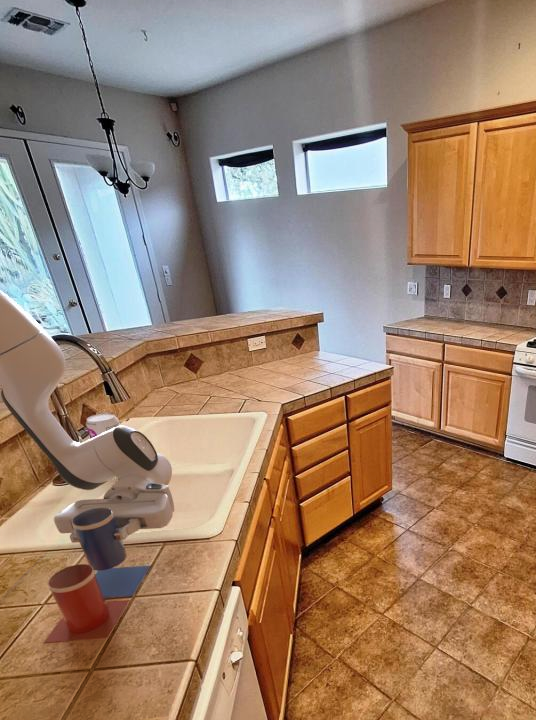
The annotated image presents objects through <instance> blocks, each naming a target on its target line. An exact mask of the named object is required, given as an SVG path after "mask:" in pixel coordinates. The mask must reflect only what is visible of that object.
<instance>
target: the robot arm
mask: <svg viewBox="0 0 536 720" xmlns="http://www.w3.org/2000/svg"><path fill="white" fill-rule="evenodd" d="M66 362H67V361H66V355H65V353H64V352H63V350H62V349H61V347H60V346H59V345H58V343H57V342H56V341H55V340H54V338H52V337H51V335H49V333H47V331H46V330H45V329H44V328H43V327H42V326H41V325H40V324H39V322H37V321H36V320H35V319H34V318H33V317H32V316H31V315H30V314H29V313H28V312H27V311H25V310H24V309H23V308H22V306H20V305H19V304H17V302H15V301H14V300H13V299H12V298H10V297H9V296H8V295H7V294H6V293H4V291H2V290H0V385H1V386H0V387H1V390H0V397H1V399H2V401H3V404H4V405H5V407H7V409H8V411H9V412H10V413H11V414H12V416H13V417H14V418H15V420H16V421H17V422H18V424H20V425H21V427H22V428H23V429H24V430H25V432H26V433H27V434H28V435H29V436H30V437H31V439H32V440H33V441H34V442H35V444H37V446H38V447H39V448H40V449H41V450H42V452H43V453H44V454H45V455H46V456H47V457H48V459H49V461H50V462H51V463H52V464H53V466H54V468H55V470H56V472H57V474H58V475H59V477H60V478H61V479H62V480H63V481H64V482H65V483H66V484H67V485H70V486H71V487H74V488H76V489H78V490H79V489H80V490H83V491H93V490H96V489H97V488H99V487H100V486H102V485H105V484H106V483H107V482H109V481H111V480H113V479H115V478H116V481H115V482H114V483H113V484H112V485H111V486H110V487H109V488H108V489H107V490H106V491H105V493H104V495H103V498H94V499H93V498H92V499H91V498H90V499H82V500H81V499H80V500H76V501H73V502H72V503H71V504H69V505H68V506H66V507H65V508H63V509H62V510H61V511H59V512H58V513H57V514H56V515H55V516H53V522H54V525H55V527H56V529H57V531H58V533H60V534H69V539H70V542H71V543H73V544H74V543H80V542H79V539H78V537H77V534H76V532H75V529H74V527H73V525H72V520H73V518H74V517H75V516H77V515H78V514H80V513H82V512H84V511H87V510H90V509H95V508H109V509H111V510H112V512H113V514H114V518H115V521H116V524H117V527H118V528H117V530H116V531H115V532H114V536H115V540H122V541H126V539H127V538H128V536H130V535H132V534H135V533H136V532H139V530H153V529H154V530H155V529H162V528H164V527H166V526H168V525H169V524H170V522H171V521H172V518H173V515H174V514H173V513H174V512H175V504H174V499H173V495H172V491H171V489H170V487H169V484H170V482H171V479H172V476H173V467H172V464H171V462H170V461H169V459H168V458H166V456H164V455H163V454H161V453H157V451H156V448H155V447H154V445H153V444H152V442H151V440H150V439H149V438H148V437H147V436H146V435H145V434H144V433H142V432H141V431H139V430H137V429H135V428H133V427H131V426H126V425H120V426H117V427H115V428H113V429H110V430H108V431H106V432H104V433H101V434H100V435H98V436H96V437H94V438H92V439H90V438H89V439H87V440H85V441H83V442H77V441H75V440H73V439H72V438H71V436H70V435H69V433H68V432H67V431H66V430H65V429H64V427H63V425H61V424H60V422H59V421H58V420H57V418H56V417H55V416H54V415H53V413H52V412H51V409H50V405H49V401H50V397H51V395H53V392H54V391H55V390H56V389H57V388H58V386H59V385H60V383H61V382H62V381H63V378H64V376H65V374H66V368H67V363H66Z"/></svg>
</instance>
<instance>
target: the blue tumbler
mask: <svg viewBox="0 0 536 720" xmlns="http://www.w3.org/2000/svg"><path fill="white" fill-rule="evenodd" d="M72 525H73V527H74V529H75V532H76V534H77V537H78V539H79V542H78V543H79V544H80V547H81V549H82V551H83V554H84V556H85V559H86V561H87V562H86V563H87V565H90V566H92V567H93V569H94V571H96V572H98V571H101V570H107V569H111V568H116V567H117V566H120V565H121V564H122V563H124V561H125V560H126V559H127V557H128V553H127V551H126V548H125V545H124V542H123V540H115V536H114V532H115V531H116V530H117V528H118V527H117V524H116V521H115V518H114V514H113V512H112V510H111V509H109V508H95V509H90V510H87V511H84V512H82V513H80V514H78V515H77V516H75V517H74V518H73V520H72Z"/></svg>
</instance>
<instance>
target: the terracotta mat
mask: <svg viewBox="0 0 536 720" xmlns="http://www.w3.org/2000/svg"><path fill="white" fill-rule="evenodd" d="M130 601H131V599H123V600H109V601H108V600H107V601H106V600H105V602H106V604H107V607H108V609H109V613H110V614H109V617H108V619H107V620H106V621H105V622H104V623H103V624H102V625H101V626H99V627H98V628H96V629H94V630H92V631H89V632H86V633H79V634H77V633H72V632H70V631H69V630H68V628H67V625H66V623H65V621H64V619H63V617H62V616H61V618H60V620H59V621H58V623H57V624H56V625H55V627H54V628H53V629H52V630H51V631H50V633H49V634H48V635H47V637H46V638H45V640H44V641H43V642H42V643H43V644H46V643H59V642H62V643H63V642H72V641H86V640H99V639H108V637H109V636H110V634H111V633H112V631H113V629H114V628H115V626H116V625H117V623H118V621H119V619H120V618H121V616H122V614H123V613H124V612H125V609H126V608H127V606H128V604H129V603H130Z"/></svg>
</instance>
